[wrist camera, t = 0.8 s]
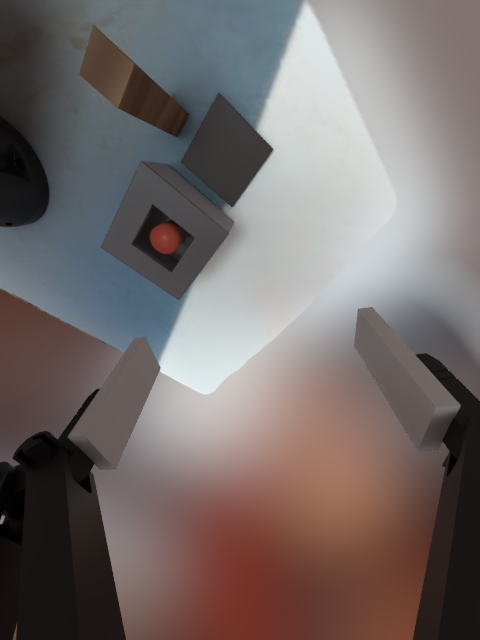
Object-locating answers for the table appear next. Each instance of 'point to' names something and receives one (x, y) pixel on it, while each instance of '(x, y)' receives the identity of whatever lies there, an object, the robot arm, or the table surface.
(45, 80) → the table surface
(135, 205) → the grey box with opening
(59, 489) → the robot arm
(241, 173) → the mat
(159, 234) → the red ball
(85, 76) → the wooden stick
